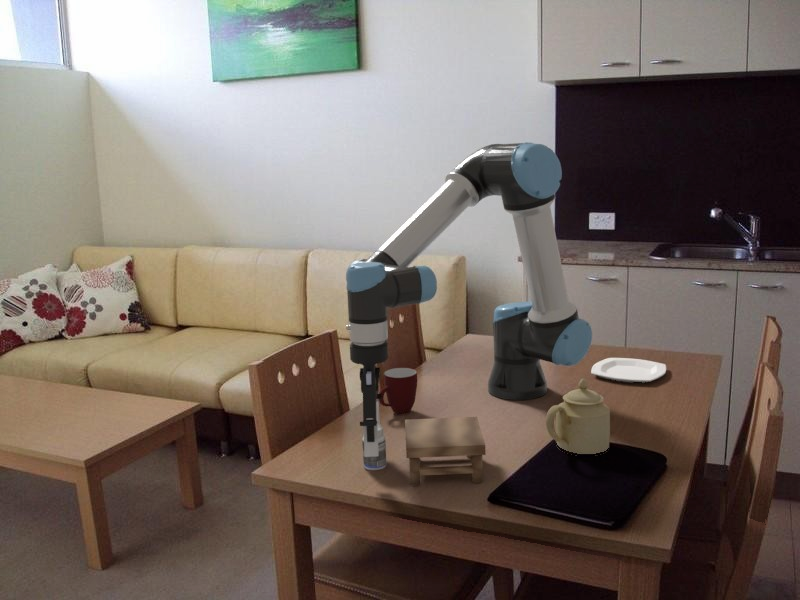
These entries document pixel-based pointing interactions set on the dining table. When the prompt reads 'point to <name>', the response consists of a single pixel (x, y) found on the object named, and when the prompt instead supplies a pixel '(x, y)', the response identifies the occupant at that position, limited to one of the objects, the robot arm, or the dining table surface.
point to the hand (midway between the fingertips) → (372, 442)
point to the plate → (628, 369)
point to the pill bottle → (380, 460)
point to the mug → (399, 389)
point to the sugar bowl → (580, 422)
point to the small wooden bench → (444, 445)
